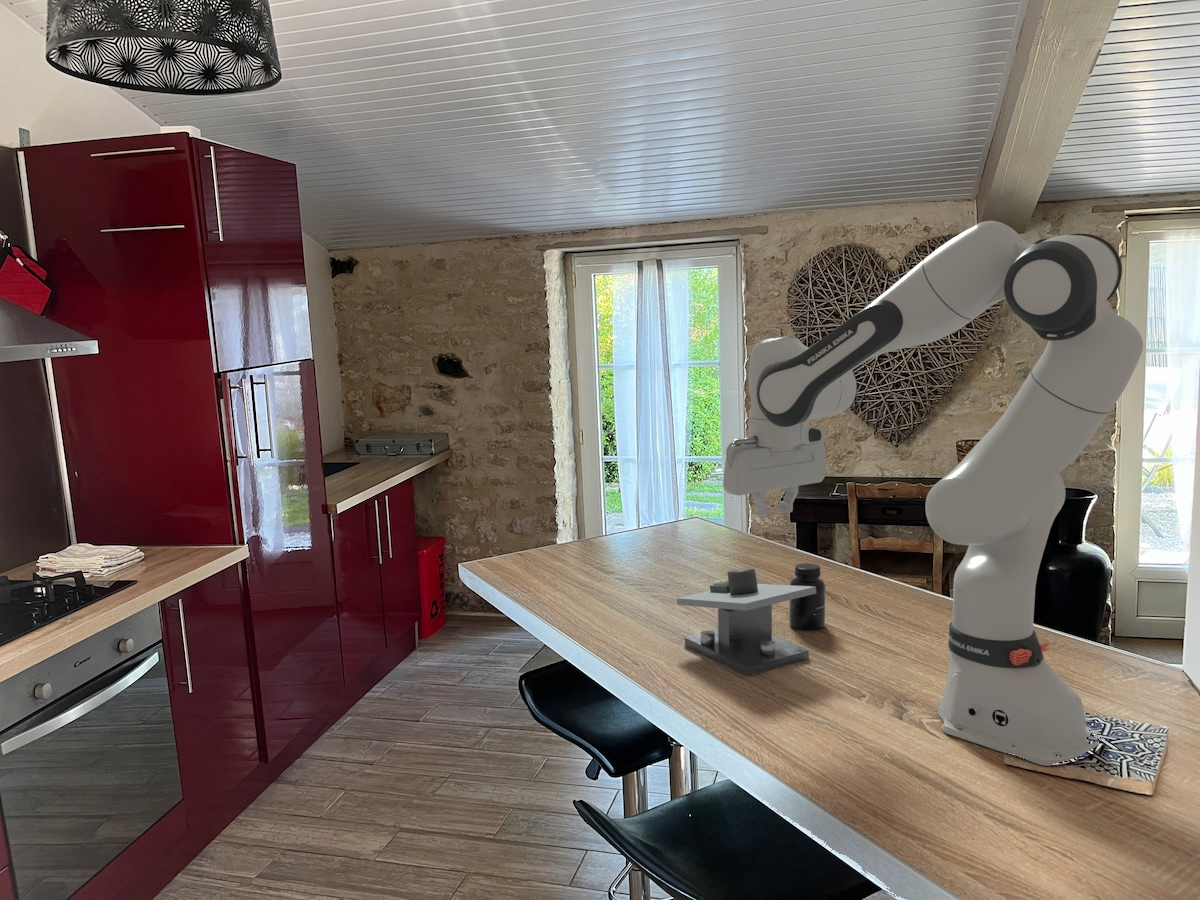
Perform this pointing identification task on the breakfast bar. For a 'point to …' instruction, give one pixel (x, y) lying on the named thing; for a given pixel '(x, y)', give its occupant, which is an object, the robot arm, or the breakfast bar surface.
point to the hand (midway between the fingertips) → (775, 514)
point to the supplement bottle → (808, 599)
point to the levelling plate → (744, 593)
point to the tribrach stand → (746, 642)
